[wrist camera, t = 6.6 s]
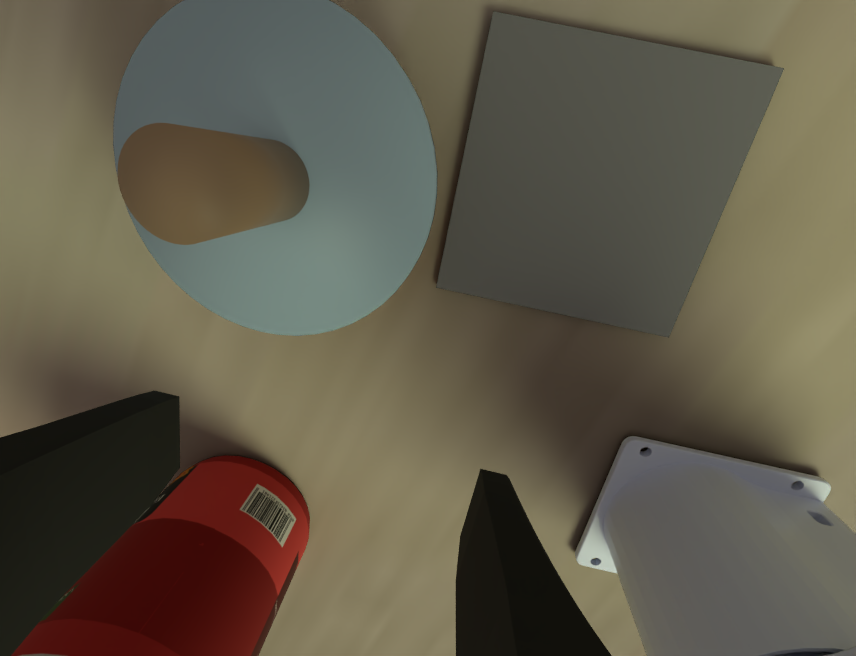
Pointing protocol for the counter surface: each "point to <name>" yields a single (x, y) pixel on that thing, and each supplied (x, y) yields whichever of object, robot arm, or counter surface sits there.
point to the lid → (275, 161)
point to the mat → (597, 171)
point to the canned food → (188, 571)
